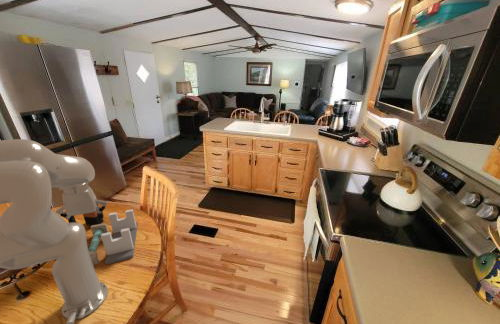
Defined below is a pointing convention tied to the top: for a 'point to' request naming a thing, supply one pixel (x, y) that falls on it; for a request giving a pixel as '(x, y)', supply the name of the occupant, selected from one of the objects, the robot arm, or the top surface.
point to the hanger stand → (120, 237)
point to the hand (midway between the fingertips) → (87, 222)
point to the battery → (92, 218)
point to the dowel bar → (96, 240)
